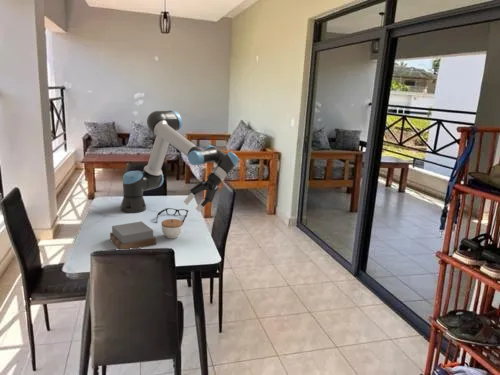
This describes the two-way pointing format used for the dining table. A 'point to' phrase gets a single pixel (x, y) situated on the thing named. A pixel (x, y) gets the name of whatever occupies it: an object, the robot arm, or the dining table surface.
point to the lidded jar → (172, 228)
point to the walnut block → (133, 243)
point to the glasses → (173, 214)
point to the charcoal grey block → (132, 232)
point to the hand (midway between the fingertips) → (191, 206)
